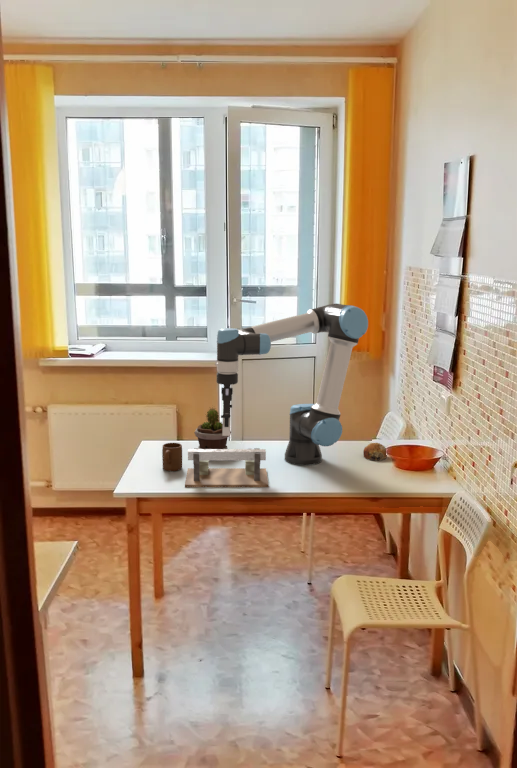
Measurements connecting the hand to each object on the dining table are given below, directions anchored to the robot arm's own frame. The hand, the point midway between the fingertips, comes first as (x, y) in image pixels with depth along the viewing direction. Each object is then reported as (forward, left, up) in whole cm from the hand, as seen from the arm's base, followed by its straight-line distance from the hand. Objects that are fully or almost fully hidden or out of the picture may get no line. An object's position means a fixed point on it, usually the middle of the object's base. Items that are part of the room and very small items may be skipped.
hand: (226, 430), depth 238 cm
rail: (0, 0, -11) cm, 11 cm away
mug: (+21, -14, -20) cm, 32 cm away
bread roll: (-62, -31, -20) cm, 72 cm away
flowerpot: (+6, -35, -20) cm, 41 cm away
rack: (0, -4, -20) cm, 20 cm away
